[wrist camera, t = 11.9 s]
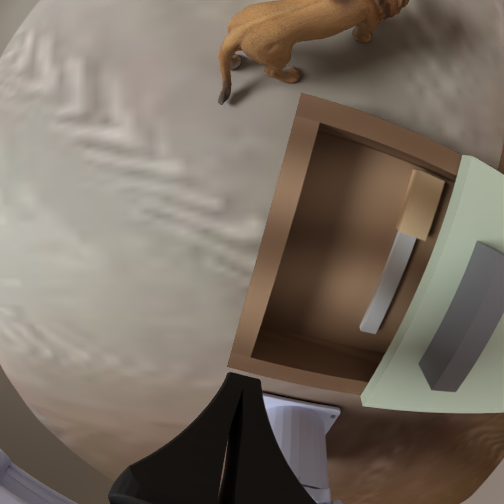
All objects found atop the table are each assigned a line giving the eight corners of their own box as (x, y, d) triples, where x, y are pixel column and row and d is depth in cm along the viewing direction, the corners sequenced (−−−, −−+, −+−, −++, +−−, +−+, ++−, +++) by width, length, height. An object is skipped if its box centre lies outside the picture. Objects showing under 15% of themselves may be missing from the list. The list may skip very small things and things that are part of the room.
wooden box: (449, 369, 22) (470, 404, 18) (238, 325, 23) (227, 366, 18) (537, 130, 15) (575, 131, 10) (321, 18, 16) (329, -16, 11)
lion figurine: (354, -28, 14) (381, -100, 5) (406, 21, 15) (462, -35, 6) (197, 80, 18) (137, 37, 9) (250, 135, 19) (220, 120, 10)
